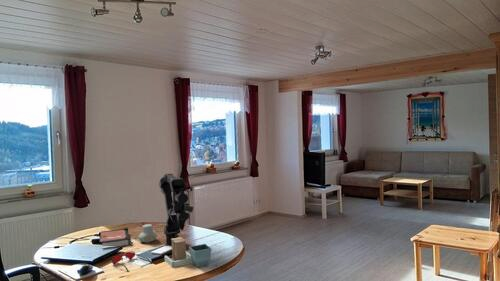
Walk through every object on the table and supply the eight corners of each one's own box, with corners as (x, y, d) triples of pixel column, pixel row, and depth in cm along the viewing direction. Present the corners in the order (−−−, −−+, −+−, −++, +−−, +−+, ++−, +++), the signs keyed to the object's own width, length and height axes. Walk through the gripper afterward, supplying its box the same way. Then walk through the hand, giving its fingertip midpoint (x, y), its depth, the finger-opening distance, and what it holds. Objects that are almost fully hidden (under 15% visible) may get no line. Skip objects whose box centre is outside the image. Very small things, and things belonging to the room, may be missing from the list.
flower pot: (195, 269, 185) (194, 251, 185) (189, 264, 193) (188, 246, 192) (212, 265, 189) (211, 248, 189) (205, 260, 197) (205, 243, 197)
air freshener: (140, 244, 229) (139, 228, 229) (138, 241, 237) (137, 225, 237) (158, 241, 234) (157, 225, 234) (155, 238, 241) (155, 222, 241)
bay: (164, 260, 199) (164, 255, 199) (186, 255, 205) (186, 251, 205) (172, 267, 189) (172, 262, 189) (194, 262, 195) (194, 257, 195)
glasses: (134, 258, 206) (134, 249, 206) (152, 264, 195) (152, 254, 195) (110, 265, 195) (110, 256, 195) (128, 273, 185) (127, 262, 185)
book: (100, 238, 247) (99, 230, 247) (128, 234, 253) (127, 227, 253) (99, 250, 223) (99, 241, 223) (130, 245, 229) (130, 237, 229)
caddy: (172, 259, 200) (171, 238, 199) (181, 257, 202) (180, 237, 202) (176, 263, 193) (175, 242, 193) (186, 261, 196) (185, 240, 196)
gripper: (197, 201, 208) (199, 229, 209) (185, 196, 224) (186, 223, 225) (178, 204, 203) (179, 233, 203) (167, 199, 219) (168, 226, 219)
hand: (179, 228), depth 213 cm, fingers open, 9 cm apart
